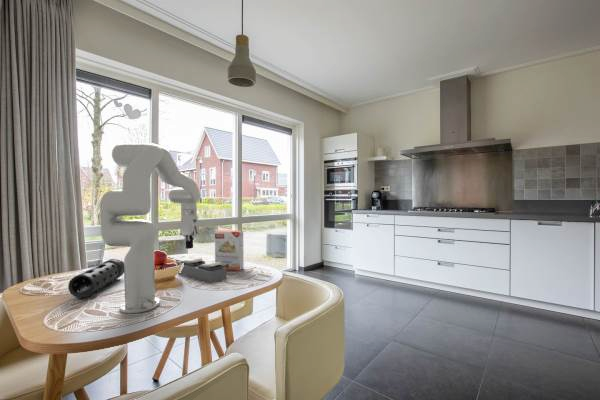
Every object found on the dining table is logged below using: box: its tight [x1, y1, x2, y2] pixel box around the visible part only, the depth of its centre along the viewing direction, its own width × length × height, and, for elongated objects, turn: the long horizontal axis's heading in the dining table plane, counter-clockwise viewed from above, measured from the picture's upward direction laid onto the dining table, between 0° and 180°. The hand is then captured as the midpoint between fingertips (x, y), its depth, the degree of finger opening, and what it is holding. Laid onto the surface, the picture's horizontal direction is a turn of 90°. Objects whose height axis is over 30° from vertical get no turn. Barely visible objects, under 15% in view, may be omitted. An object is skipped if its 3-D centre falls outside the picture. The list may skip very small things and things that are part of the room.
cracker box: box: [214, 229, 244, 272], centre depth 151 cm, size 14×6×21 cm, turn 81°
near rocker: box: [201, 261, 220, 268], centre depth 136 cm, size 8×5×2 cm, turn 55°
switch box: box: [179, 260, 227, 284], centre depth 140 cm, size 26×9×6 cm, turn 55°
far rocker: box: [183, 258, 203, 263], centre depth 144 cm, size 8×5×2 cm, turn 55°
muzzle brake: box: [68, 258, 124, 300], centre depth 122 cm, size 10×28×10 cm, turn 9°
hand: (189, 248), depth 145 cm, fingers closed
